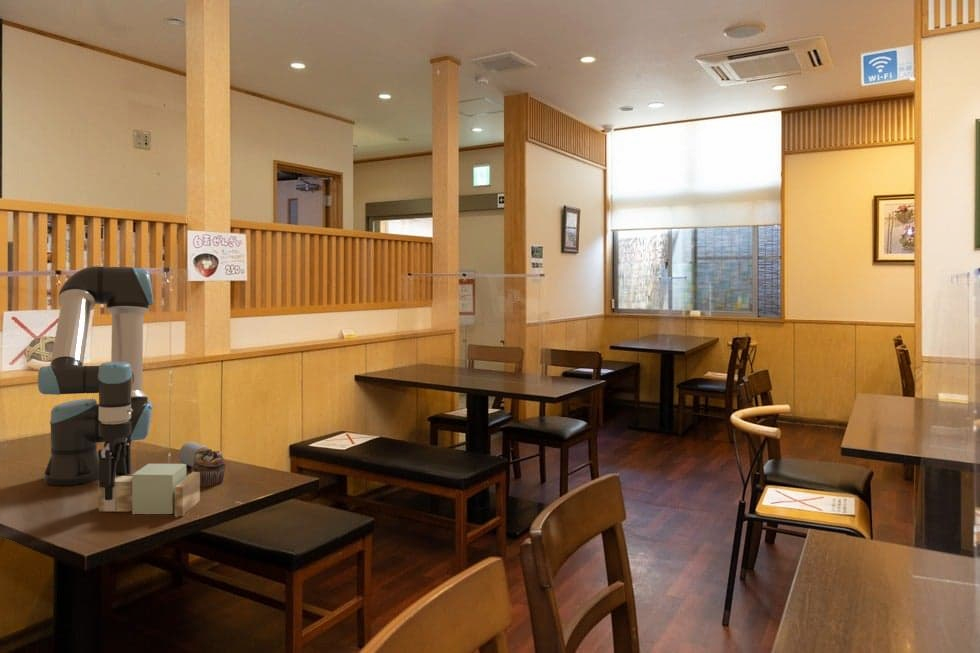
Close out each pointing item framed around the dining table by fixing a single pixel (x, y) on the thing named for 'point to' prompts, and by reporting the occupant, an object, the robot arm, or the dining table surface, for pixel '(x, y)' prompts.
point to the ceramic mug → (190, 452)
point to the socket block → (156, 488)
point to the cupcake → (210, 467)
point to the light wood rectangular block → (119, 494)
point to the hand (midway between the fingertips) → (115, 506)
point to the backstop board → (187, 493)
